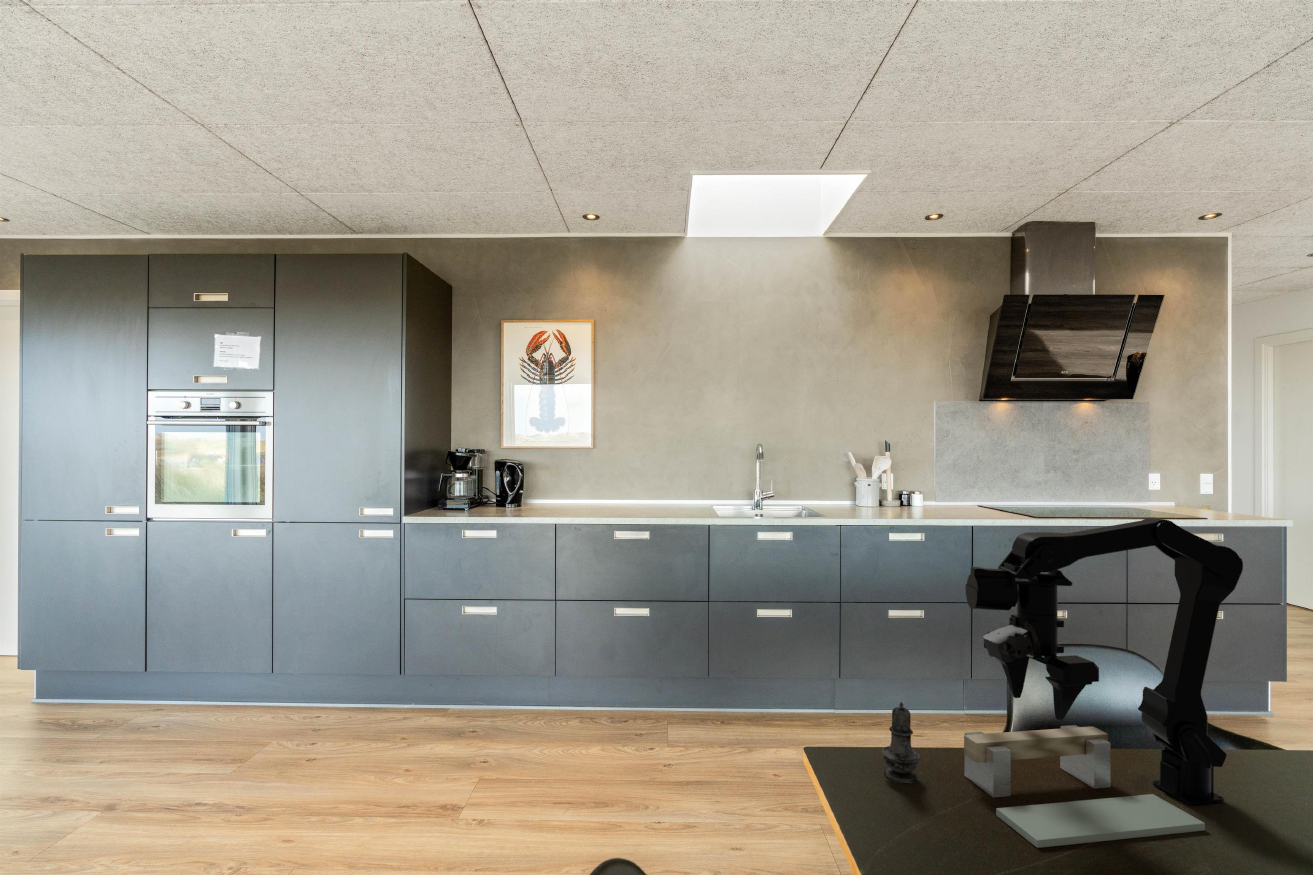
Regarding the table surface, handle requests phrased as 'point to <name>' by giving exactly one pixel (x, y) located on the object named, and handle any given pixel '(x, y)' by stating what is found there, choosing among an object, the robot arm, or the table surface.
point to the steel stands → (1084, 767)
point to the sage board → (1098, 820)
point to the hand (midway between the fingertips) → (1037, 708)
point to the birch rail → (1033, 743)
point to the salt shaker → (901, 748)
